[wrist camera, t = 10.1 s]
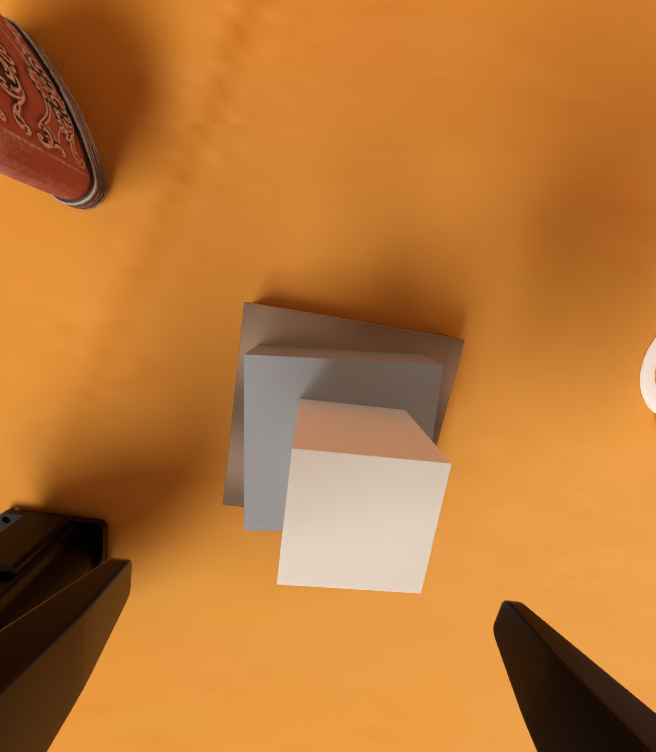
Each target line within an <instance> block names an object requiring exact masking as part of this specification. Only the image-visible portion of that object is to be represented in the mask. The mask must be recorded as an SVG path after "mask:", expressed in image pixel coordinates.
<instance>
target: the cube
mask: <svg viewBox="0 0 656 752" xmlns="http://www.w3.org/2000/svg"><path fill="white" fill-rule="evenodd" d="M450 468H451V462H450V461H449V460H448V459H447V458H446V457H445V455H444V454H443V453H442V452H441V451H440V450H439V449H438V447H437V446H436V445H435V444H434V443H433V442H432V440H431V439H430V438H429V437H428V436H427V435H426V433H425V432H424V431H423V430H422V429H421V428H420V427H419V425H418V424H417V423H416V422H415V421H414V420H413V418H412V417H411V416H410V415H409V414H408V413H407V411H406V410H400V409H391V408H382V407H373V406H363V405H354V404H345V403H335V402H326V401H317V400H307V399H299V403H298V410H297V417H296V424H295V431H294V437H293V444H292V452H291V461H290V470H289V479H288V488H287V497H286V506H285V516H284V525H283V534H282V543H281V552H280V561H279V570H278V579H277V584H280V585H296V586H312V587H328V588H344V589H360V590H376V591H392V592H408V593H421V590H422V586H423V582H424V577H425V573H426V569H427V565H428V561H429V556H430V552H431V548H432V544H433V540H434V535H435V531H436V527H437V523H438V519H439V514H440V510H441V506H442V502H443V498H444V493H445V489H446V485H447V481H448V477H449V472H450Z"/></svg>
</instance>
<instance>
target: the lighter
mask: <svg viewBox="0 0 656 752" xmlns="http://www.w3.org/2000/svg"><path fill="white" fill-rule="evenodd" d="M0 173H1V174H3V175H6V176H8V177H11V178H13V179H15V180H18V181H20V182H23V183H25V184H28V185H30V186H32V187H35V188H37V189H40V190H42V191H44V192H47V193H49V194H50V195H51V196H52V197H53V198H55V199H56V200H57V201H59V202H62V203H64V204H66V205H69V206H71V207H74V208H76V209H83V210H87V209H92V208H95V207H96V206H98V205H99V204H101V203H102V201H103V200H104V198H105V197H106V193H107V181H106V177H105V174H104V171H103V167H102V164H101V161H100V158H99V154H98V151H97V148H96V146H95V143H94V141H93V138H92V136H91V134H90V131H89V129H88V126H87V124H86V122H85V119H84V117H83V115H82V112H81V111H80V109H79V107H78V105H77V103H76V102H75V100H74V98H73V96H72V95H71V93H70V91H69V89H68V87H67V86H66V84H65V82H64V80H63V78H62V77H61V76H60V74H59V73H58V71H57V70H56V68H55V67H54V65H53V64H52V62H51V61H50V60H49V58H48V57H47V55H46V54H45V52H44V51H43V49H42V48H41V46H40V45H39V44H38V43H37V42H36V41H35V40H34V39H33V38H32V37H31V36H30V35H29V34H28V33H27V32H26V31H25V30H23V29H22V28H21V27H20V26H19V25H18V24H17V23H16V22H14V21H12V20H10V19H8V18H7V17H3V16H2V15H1V14H0Z"/></svg>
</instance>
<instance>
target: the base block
mask: <svg viewBox="0 0 656 752" xmlns="http://www.w3.org/2000/svg"><path fill="white" fill-rule="evenodd" d="M463 344H464V340H463V339H459V338H454V337H450V336H446V335H440V334H434V333H428V332H423V331H417V330H411V329H405V328H399V327H393V326H387V325H382V324H376V323H370V322H364V321H358V320H352V319H346V318H341V317H335V316H329V315H323V314H317V313H311V312H305V311H299V310H294V309H288V308H282V307H276V306H270V305H264V304H258V303H249V302H244V310H243V320H242V329H241V338H240V348H239V357H238V367H237V376H236V386H235V395H234V405H233V414H232V424H231V433H230V443H229V452H228V462H227V471H226V480H225V490H224V499H223V505H231V506H240V507H244V354H245V353H247V352H248V351H249V350H251V349H252V348H253V347H255V346H256V345H257V346H276V347H294V348H313V349H331V350H350V351H368V352H387V353H406V354H422V355H424V356H426V357H428V358H430V359H432V360H434V361H436V362H439V363H441V364H443V372H442V379H441V385H440V392H439V399H438V406H437V412H436V419H435V426H434V433H433V439H432V442H433V443H434V444H435V445H437V441H438V437H439V434H440V430H441V426H442V422H443V419H444V415H445V411H446V408H447V404H448V400H449V396H450V393H451V389H452V385H453V381H454V378H455V374H456V370H457V366H458V363H459V359H460V355H461V351H462V348H463Z"/></svg>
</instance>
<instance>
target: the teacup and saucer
mask: <svg viewBox="0 0 656 752" xmlns="http://www.w3.org/2000/svg"><path fill="white" fill-rule="evenodd" d="M655 368H656V337H655V338H654V340H653V341H652V343H651V344H650V346H649V348H648V350H647V352H646V354H645V356H644V359H643V362H642V366H641V370H640V389H641V393H642V396H643V399H644V401H645V403H646V404H647V406H648V407H649V408H650V409H651V410H652V411H653V412H654V413H655V414H656V385H655Z"/></svg>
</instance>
